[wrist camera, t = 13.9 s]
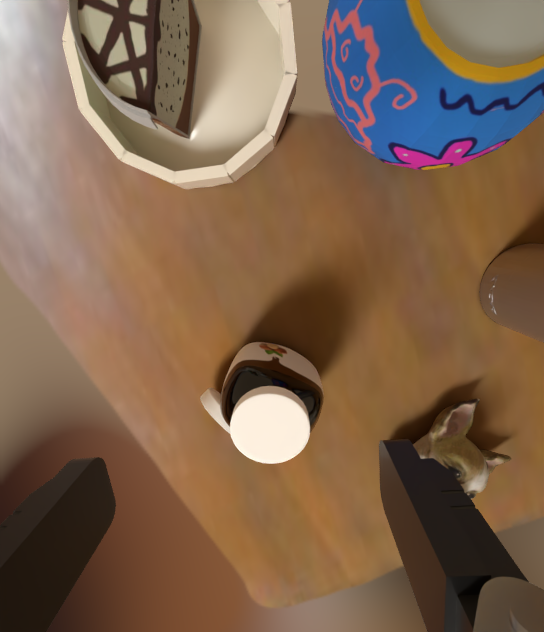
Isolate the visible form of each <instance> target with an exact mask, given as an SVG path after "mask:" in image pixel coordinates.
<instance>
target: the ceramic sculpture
mask: <svg viewBox="0 0 544 632" xmlns="http://www.w3.org/2000/svg"><path fill="white" fill-rule="evenodd" d="M479 400H480V399H472V400H467V401H463V402H459V403H456V404H454V405H452V406H449V407H447V408H445V409H444V410H443V411H442V412H441V413H440V414H439V415H438V416H437V418H436V419H435V421H434V423H433V425H432V427H431V428H430V430H429V432H428V434H426V435H425V436H423V437H422V438H420V439H419V440H418V441H417V442H416V443H414V444H413V446H414V448H415V449H416V451H417V453H418V454H419V456H420V458H421V459H425V458H434V459H435V460H437V461H438V462H439V463H441V464H442V465H443V466H445V467H446V468H447V469H448V470H450V471H451V472H452V473H453V475H454V476H455V477H456V479H457V480H458V482H459V483H460V485H461V486H462V488H463V489H464V492H465V493H467V495H468V496H469V498H470V499H472V498H474V497H475V496H476V493H479V492H482V491H483V490H484V489H485V487H486V485H487V482H488V477H489V474H490V473H491V472H492V471H493V470H494V468H495V467H496V466H497V465H499V464H501V463H505V462H507V461H509V460H510V459H511V458H510V456H507V455H503V454H498V453H495V452H491V451H488V450H479V449H478V448H477V447H476V445H475V444H473V443H472V442H471V441H470V440H468V439H467V438H466V434H467V433H468V431H469V429H470V427H471V426H472V424H473V416H474V411H475V407H476V406H477V404H478V402H479Z"/></svg>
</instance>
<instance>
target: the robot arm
mask: <svg viewBox="0 0 544 632" xmlns="http://www.w3.org/2000/svg"><path fill="white" fill-rule="evenodd" d="M480 301H481V304H482V307H483V309H484V311H485V313H486V314H487V315H488V316H489V317H490V318H491V319H492V320H493V321H495V322H497V323H498V324H500V325H503V326H505V327H507V328H510V329H512V330H515V331H517V332H520V333H522V334H524V335H526V336H529V337H531V338H534V339H536V340H539V341H541V342H543V343H544V244H536V243H530V244H522V245H518V246H515V247H512V248H510V249H509V250H507V251H505V252H503V253H502V254H501V255H499V256H498V257H497V258H496V259H495V260H494V261H493V262H492V263H491V264H490V265H489V267H488V269H487V270H486V272H485V274H484V276H483V278H482V281H481V285H480ZM379 460H380V491H381V498H382V503H383V507H384V511H385V514H386V517H387V519H388V522H389V525H390V528H391V531H392V533H393V536H394V539H395V542H396V545H397V548H398V550H399V553H400V556H401V559H402V562H403V564H404V567H405V570H406V573H407V576H408V578H409V581H410V584H411V587H412V589H413V592H414V595H415V598H416V601H417V604H418V606H419V609H420V612H421V615H422V618H423V620H424V623H425V626H426V629H427V632H544V590H543V589H541V588H539V587H538V586H535V585H534V584H531V583H529V581H528V580H527V579H526V578H525V576H524V575H523V574H522V572H521V571H520V569H519V568H518V566H517V565H516V564H515V562H514V561H513V559H512V558H511V557H510V555H509V554H508V552H507V551H506V549H505V548H504V546H503V545H502V544H501V542H500V541H499V539H498V538H497V536H496V535H495V533H494V532H493V531H492V529H491V528H490V526H489V525H488V523H487V522H486V521H485V519H484V518H483V516H482V515H481V513H480V512H479V510H478V509H476V508H475V505H474V503H473V502H472V500H471V499H470V498H469V496H468V495H467V493H465V492H464V489H463V488H462V486H461V485H460V483H459V482H458V480H457V479H456V477H455V476H454V475H453V473H452V472H451V471H450V470H448V469H447V468H446V467H445V466H443V465H442V464H441V463H439V462H438V461H437V460H435V459H434V458H425V459H421V458H420V456H419V454H418V453H417V451H416V449H415V448H414V446H413V444H412V443H411V441H410V440H409V439H400V440H384V441H380V444H379ZM115 507H116V503H115V497H114V493H113V490H112V486H111V483H110V479H109V475H108V472H107V468H106V464H105V462H104V460H103V459H102V458H99V457H98V458H82V459H73V460H71V461H69V462H68V463H67V464H66V466H64V467H63V469H61V471H60V472H59V473H58V474H57V475H56V476H55V477H54V478H53V479H51V480H50V481H48V482H47V483H46V484H44V485H43V486H41V487H40V488H39V489H37V490H36V491H34V492H33V493H31V494H30V495H29V496H28V497H27V498H26V499H25V500H24V501H23V502H22V503H21V504H20V505H19V506H18V507H17V508H16V509H15V510H14V511H13V515H10V516H9V517H8V518H7V519H6V520H5V521H4V522H3V523H2V524H1V525H0V632H46V631H47V630H48V628H49V626H50V625H51V623H52V621H53V620H54V618H55V616H56V615H57V613H58V611H59V610H60V608H61V606H62V605H63V603H64V601H65V600H66V598H67V596H68V595H69V593H70V591H71V590H72V588H73V586H74V585H75V583H76V581H77V580H78V578H79V576H80V575H81V573H82V572H83V570H84V568H85V566H86V565H87V563H88V562H89V559H90V558H91V557H92V555H93V553H94V552H95V550H96V548H97V546H98V545H99V543H100V542H101V540H102V538H103V536H104V535H105V533H106V532H107V530H108V528H109V527H110V525H111V523H112V521H113V518H114V514H115Z"/></svg>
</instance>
